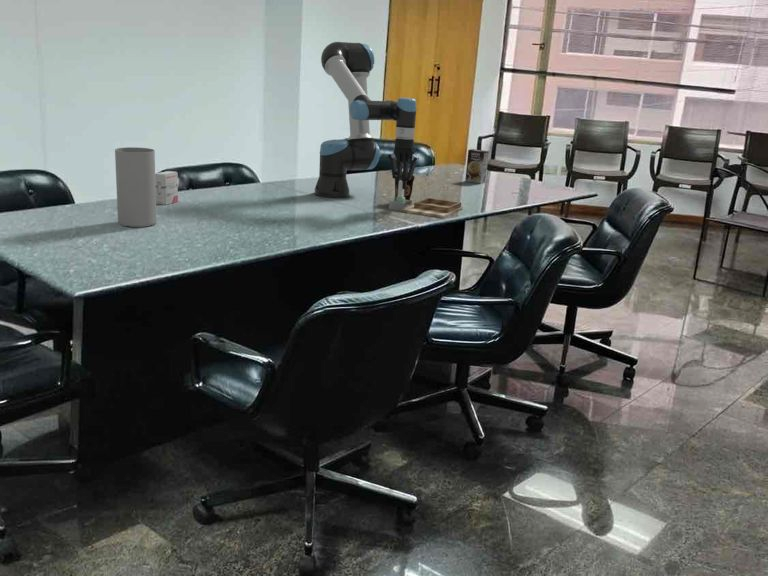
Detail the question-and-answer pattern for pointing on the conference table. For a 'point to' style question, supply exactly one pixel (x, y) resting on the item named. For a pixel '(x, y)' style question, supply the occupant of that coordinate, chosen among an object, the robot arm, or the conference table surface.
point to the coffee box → (477, 166)
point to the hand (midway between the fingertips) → (400, 196)
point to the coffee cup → (408, 189)
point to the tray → (434, 207)
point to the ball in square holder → (399, 204)
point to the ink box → (166, 187)
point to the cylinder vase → (136, 186)
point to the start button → (400, 199)
